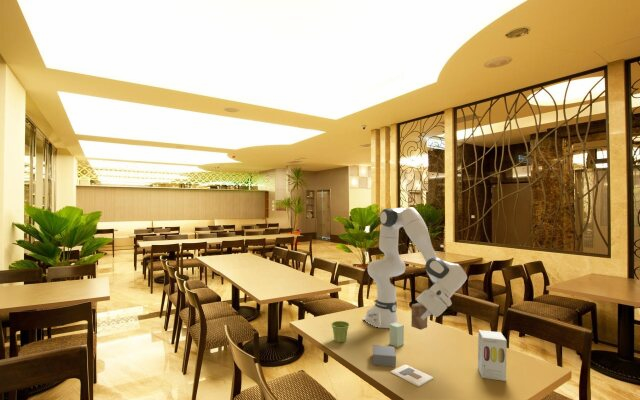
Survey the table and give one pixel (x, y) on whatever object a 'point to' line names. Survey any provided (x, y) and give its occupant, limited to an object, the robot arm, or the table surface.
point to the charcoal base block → (384, 355)
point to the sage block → (396, 334)
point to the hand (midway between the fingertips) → (418, 315)
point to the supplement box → (492, 355)
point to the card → (412, 375)
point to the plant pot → (340, 330)
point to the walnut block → (418, 316)
